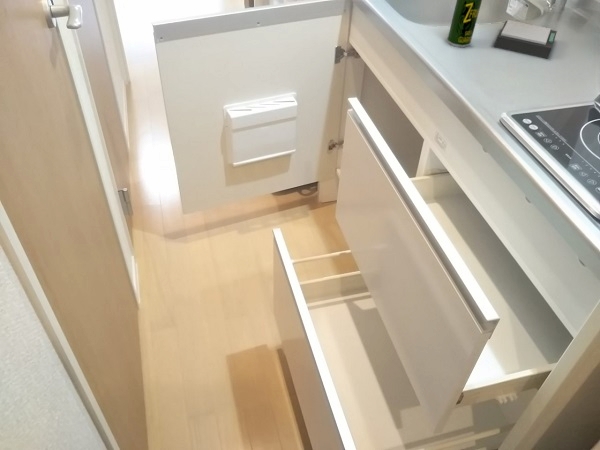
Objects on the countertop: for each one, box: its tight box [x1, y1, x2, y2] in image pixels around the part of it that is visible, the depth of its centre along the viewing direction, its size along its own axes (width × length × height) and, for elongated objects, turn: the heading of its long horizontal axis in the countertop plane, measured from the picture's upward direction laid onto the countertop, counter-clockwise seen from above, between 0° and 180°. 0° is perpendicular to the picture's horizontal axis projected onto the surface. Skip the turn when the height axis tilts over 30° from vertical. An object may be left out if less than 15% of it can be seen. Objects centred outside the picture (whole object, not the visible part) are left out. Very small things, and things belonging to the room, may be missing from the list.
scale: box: [494, 19, 558, 59], centre depth 122 cm, size 12×11×3 cm
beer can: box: [447, 0, 483, 48], centre depth 118 cm, size 5×5×12 cm
